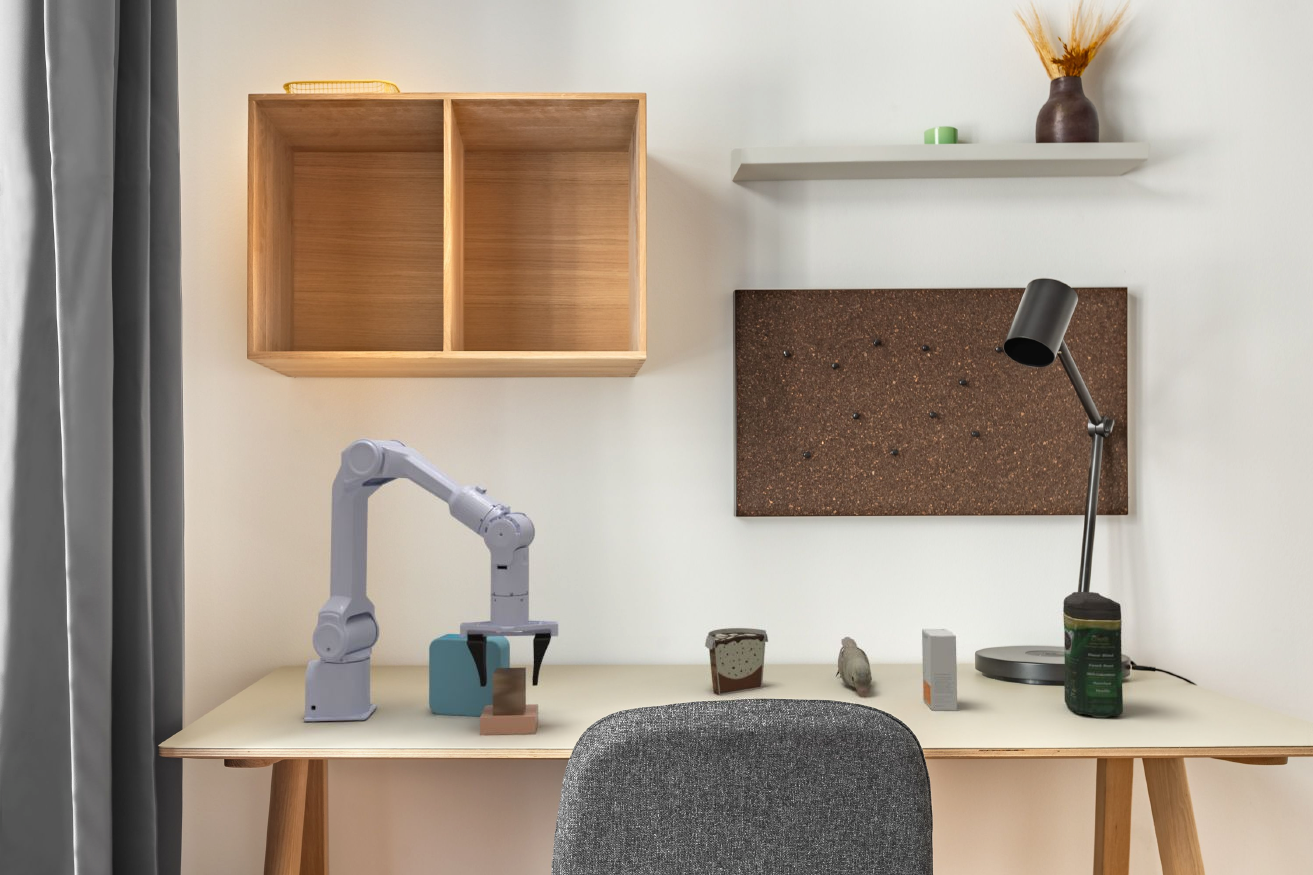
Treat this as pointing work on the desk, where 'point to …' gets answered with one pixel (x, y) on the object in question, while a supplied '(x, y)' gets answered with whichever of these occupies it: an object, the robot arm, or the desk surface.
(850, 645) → the decorative bird
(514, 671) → the walnut block
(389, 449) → the robot arm
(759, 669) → the food container
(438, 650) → the teal rounded block
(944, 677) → the skincare box
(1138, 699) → the desk surface
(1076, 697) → the coffee jar
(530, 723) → the terracotta plinth
